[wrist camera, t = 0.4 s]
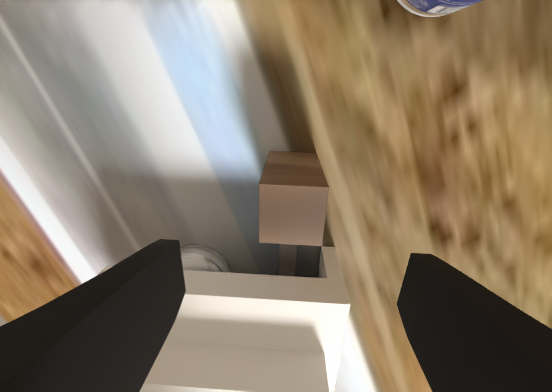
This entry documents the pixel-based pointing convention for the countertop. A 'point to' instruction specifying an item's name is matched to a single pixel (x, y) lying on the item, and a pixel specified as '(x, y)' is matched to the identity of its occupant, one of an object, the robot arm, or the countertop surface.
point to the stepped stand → (255, 333)
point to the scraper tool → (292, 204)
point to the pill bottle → (435, 6)
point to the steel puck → (202, 259)
